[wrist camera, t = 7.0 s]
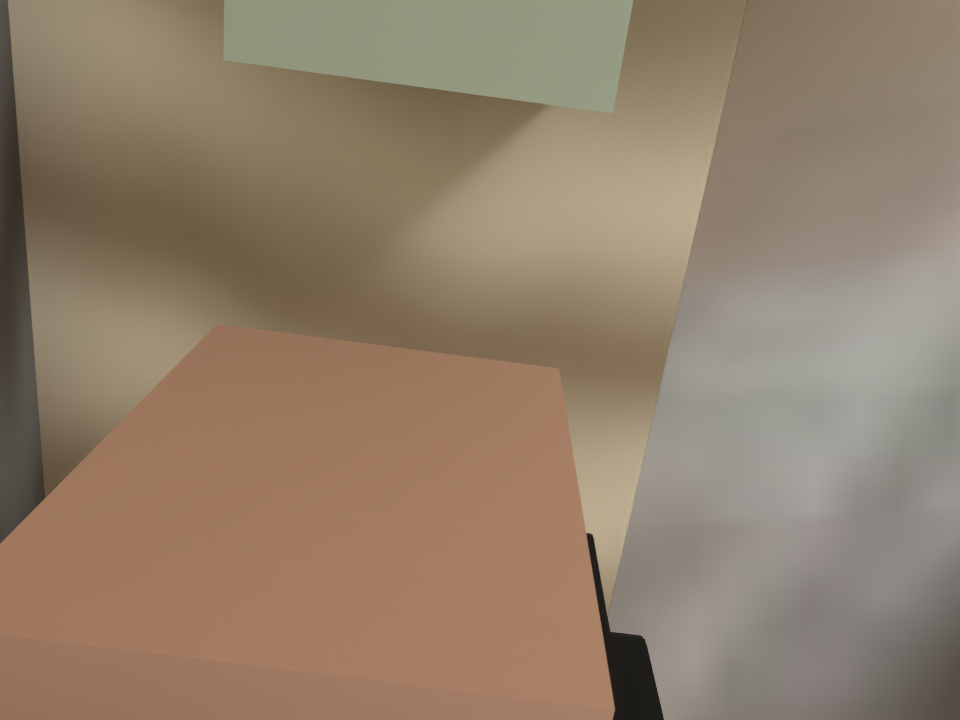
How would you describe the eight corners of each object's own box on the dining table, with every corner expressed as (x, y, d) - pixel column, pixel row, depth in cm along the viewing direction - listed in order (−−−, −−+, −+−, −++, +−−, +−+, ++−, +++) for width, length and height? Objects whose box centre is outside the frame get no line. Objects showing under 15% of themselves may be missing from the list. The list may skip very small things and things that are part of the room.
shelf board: (-99, -620, 13) (-271, -801, 10) (842, -479, 13) (934, -616, 10) (26, 708, 22) (-42, 806, 20) (564, 774, 23) (571, 880, 20)
